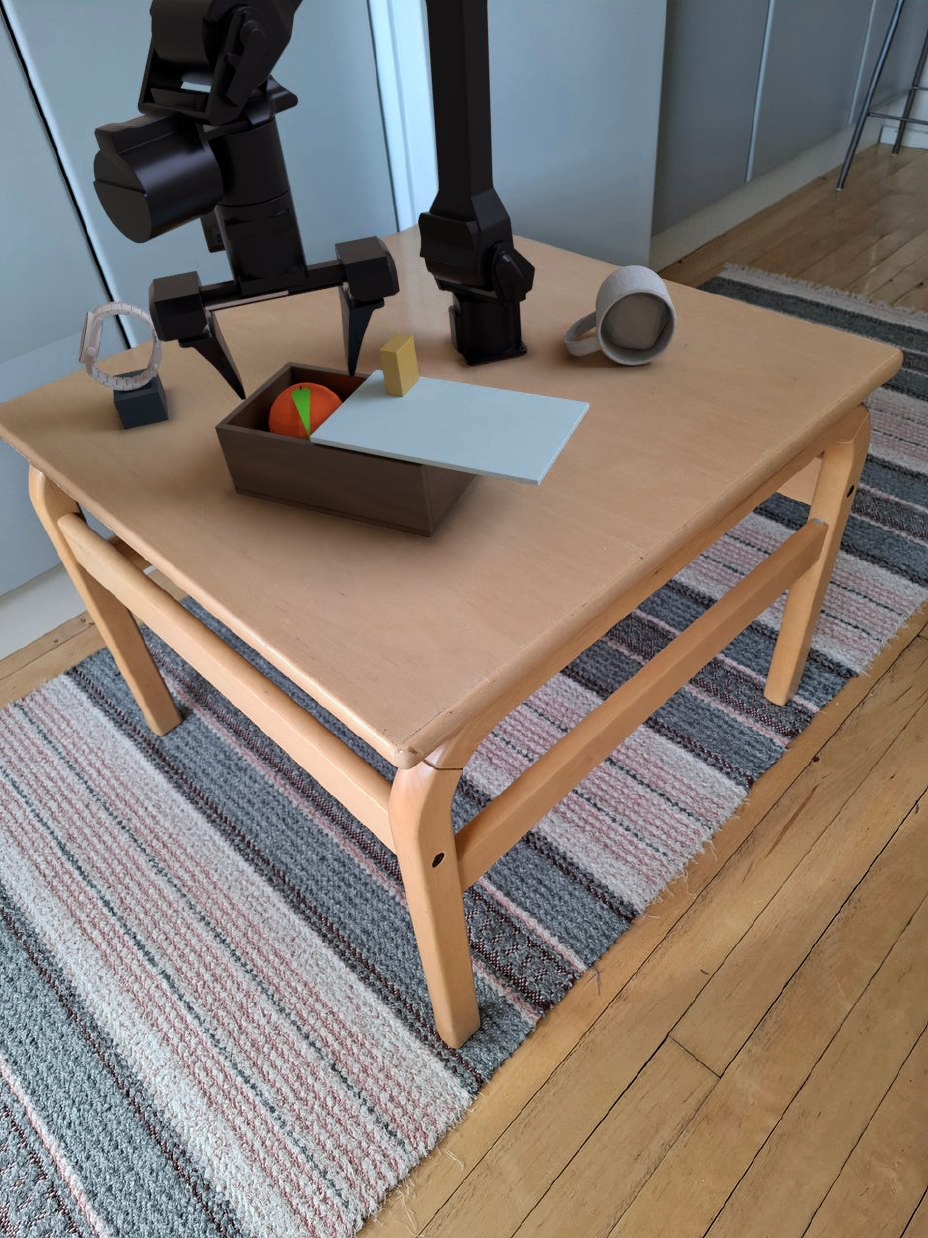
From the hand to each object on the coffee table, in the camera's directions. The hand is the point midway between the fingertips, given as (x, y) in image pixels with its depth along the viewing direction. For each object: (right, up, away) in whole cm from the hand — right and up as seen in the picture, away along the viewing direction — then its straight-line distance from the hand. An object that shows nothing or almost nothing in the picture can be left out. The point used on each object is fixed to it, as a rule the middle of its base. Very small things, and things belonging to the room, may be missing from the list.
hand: (298, 385), depth 76 cm
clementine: (+1, -5, +5) cm, 8 cm away
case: (+5, -7, +4) cm, 10 cm away
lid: (+13, -4, -4) cm, 14 cm away
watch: (-18, +1, +16) cm, 24 cm away
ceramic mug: (+30, +8, +16) cm, 35 cm away
